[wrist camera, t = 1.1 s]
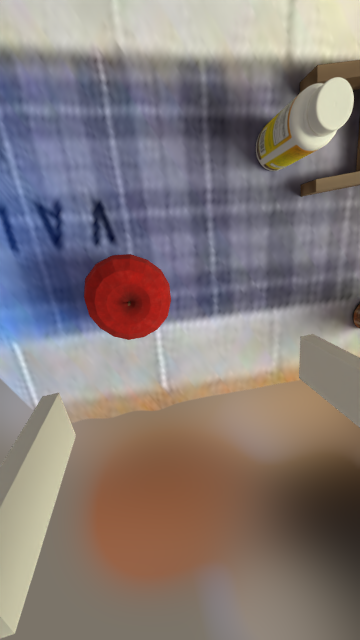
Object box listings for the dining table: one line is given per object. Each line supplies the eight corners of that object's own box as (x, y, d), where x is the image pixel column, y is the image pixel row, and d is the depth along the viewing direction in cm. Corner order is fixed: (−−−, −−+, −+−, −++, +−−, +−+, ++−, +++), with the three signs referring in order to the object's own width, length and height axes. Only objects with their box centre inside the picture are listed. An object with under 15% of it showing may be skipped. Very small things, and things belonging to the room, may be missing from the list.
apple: (79, 274, 31) (52, 288, 21) (140, 238, 31) (143, 235, 21) (121, 331, 35) (115, 367, 24) (175, 299, 35) (192, 321, 24)
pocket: (299, 82, 29) (317, 65, 26) (372, 72, 30) (397, 55, 27) (300, 196, 33) (315, 192, 30) (364, 184, 34) (384, 178, 32)
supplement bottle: (298, 153, 31) (370, 112, 22) (267, 181, 32) (324, 154, 22) (279, 112, 29) (348, 48, 20) (245, 143, 30) (298, 94, 20)
